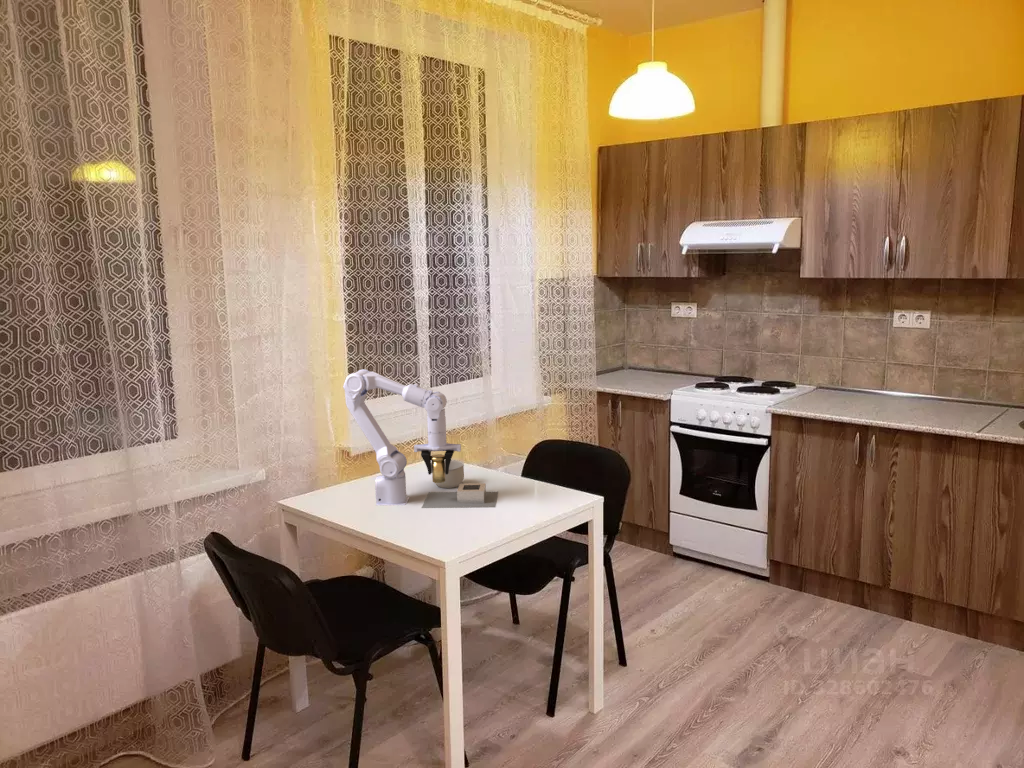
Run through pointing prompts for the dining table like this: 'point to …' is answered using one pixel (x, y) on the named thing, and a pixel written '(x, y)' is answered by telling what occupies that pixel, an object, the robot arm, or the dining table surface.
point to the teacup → (453, 475)
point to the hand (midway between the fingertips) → (438, 473)
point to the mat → (451, 500)
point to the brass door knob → (438, 468)
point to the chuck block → (471, 493)
